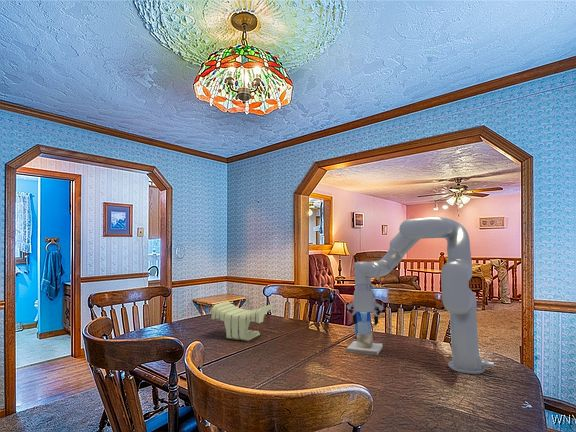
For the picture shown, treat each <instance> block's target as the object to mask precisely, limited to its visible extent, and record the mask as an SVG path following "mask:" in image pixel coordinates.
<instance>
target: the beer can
mask: <svg viewBox="0 0 576 432" xmlns="http://www.w3.org/2000/svg"><path fill="white" fill-rule="evenodd" d="M356 315H357V323H358V322H359V321H369V322H370V330H371V331H372V321H371V320H372V316H371V312H356ZM357 323H356V324H354V336H355V337H356V339H357V333H358V326H357Z"/></svg>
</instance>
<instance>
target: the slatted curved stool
mask: <svg viewBox="0 0 576 432" xmlns="http://www.w3.org/2000/svg"><path fill="white" fill-rule="evenodd" d="M272 309H274V304H273V303H269V304H267V305H265V306H261V307H260V308H258V309H253V310H252V309H251V310H249V309H244V308H241V307H240V308H239V306H236V305H235V304H234V303H232V302H230V301H228V300H227V301H223V302H220V303H216V304H214V305H213V306H212V308H211V320H215V319H217V320H221V321H222V322H223V323H224V327H225V333H226V339H230V340H241V341H248V342H249V341H251V340H252V339H255V338H256V337H259V336H260V335H261V333H260V332H259V330H250V329H249V326H250V324H251V322H253V323H254V322H255V323H257V324H261V323H263V322H264V318H265V315H266V314H267V312H269V311H271V310H272Z"/></svg>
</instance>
